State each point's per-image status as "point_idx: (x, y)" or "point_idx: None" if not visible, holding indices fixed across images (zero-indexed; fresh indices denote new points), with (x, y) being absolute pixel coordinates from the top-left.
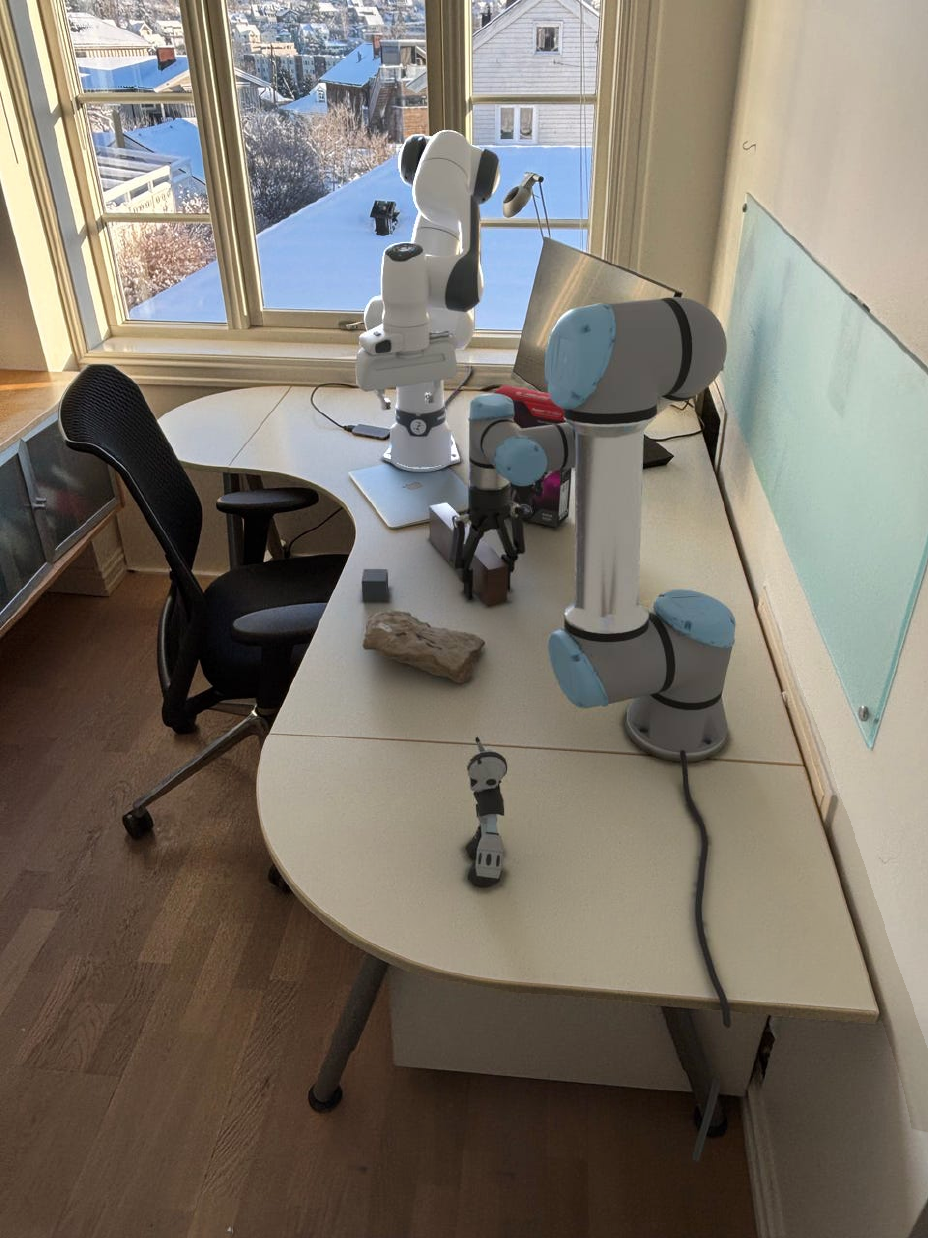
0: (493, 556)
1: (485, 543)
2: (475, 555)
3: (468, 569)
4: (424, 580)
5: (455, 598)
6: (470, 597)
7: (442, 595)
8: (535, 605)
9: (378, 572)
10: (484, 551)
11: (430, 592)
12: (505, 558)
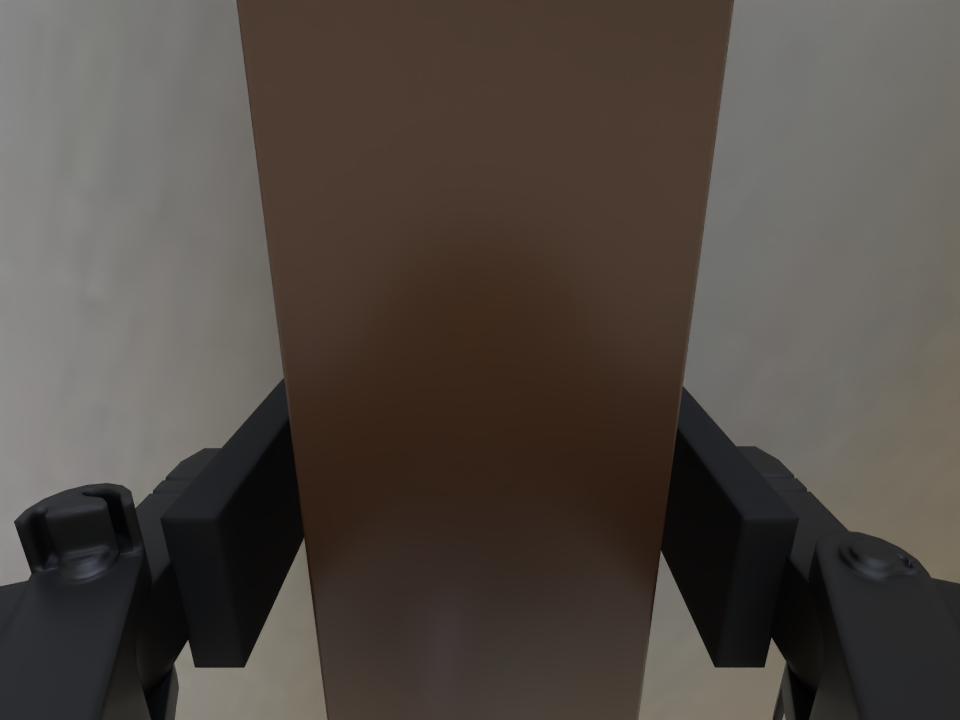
0: (555, 709)
1: (662, 321)
2: (312, 598)
3: (191, 645)
4: (33, 5)
5: (233, 385)
6: None
7: (146, 310)
8: (688, 637)
9: None
10: (499, 557)
11: (57, 230)
12: (732, 612)
